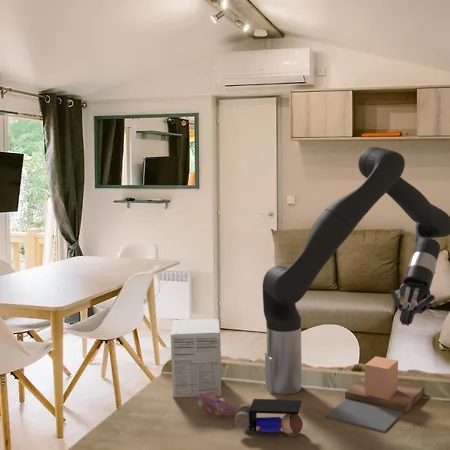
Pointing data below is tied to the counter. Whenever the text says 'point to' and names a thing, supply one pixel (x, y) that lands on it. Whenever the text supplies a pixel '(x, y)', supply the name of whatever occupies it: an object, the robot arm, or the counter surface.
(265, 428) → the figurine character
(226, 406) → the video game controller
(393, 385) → the block
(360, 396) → the board
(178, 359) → the supplement box
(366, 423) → the mat
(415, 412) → the counter surface
